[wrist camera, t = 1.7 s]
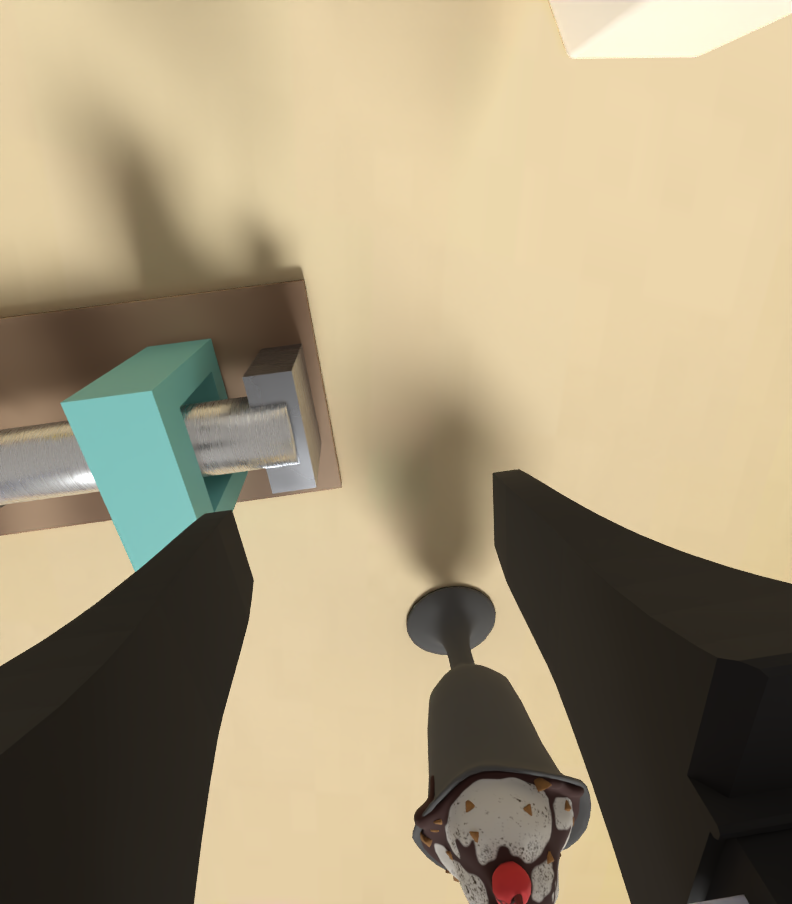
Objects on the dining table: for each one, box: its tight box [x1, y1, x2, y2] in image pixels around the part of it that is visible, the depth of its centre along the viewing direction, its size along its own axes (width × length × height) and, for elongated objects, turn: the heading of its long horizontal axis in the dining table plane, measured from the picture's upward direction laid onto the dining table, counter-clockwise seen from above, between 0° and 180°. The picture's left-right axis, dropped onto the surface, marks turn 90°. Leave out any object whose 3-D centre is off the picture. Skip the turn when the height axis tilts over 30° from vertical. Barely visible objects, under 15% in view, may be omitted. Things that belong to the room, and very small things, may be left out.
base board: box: [0, 280, 342, 536], centre depth 20 cm, size 19×9×1 cm, turn 96°
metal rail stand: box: [0, 344, 322, 508], centre depth 18 cm, size 18×4×5 cm, turn 96°
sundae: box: [407, 587, 591, 904], centre depth 20 cm, size 7×7×15 cm
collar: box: [60, 338, 248, 572], centre depth 17 cm, size 2×6×6 cm, turn 6°
